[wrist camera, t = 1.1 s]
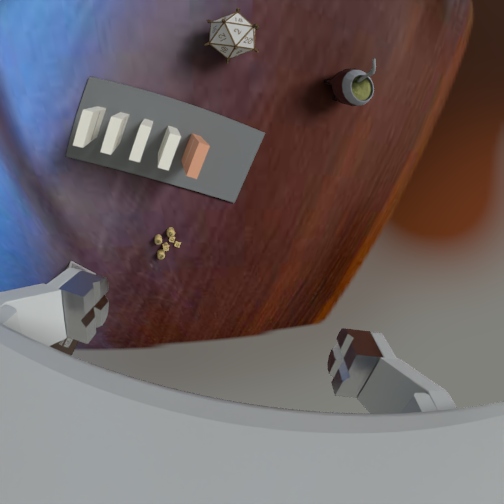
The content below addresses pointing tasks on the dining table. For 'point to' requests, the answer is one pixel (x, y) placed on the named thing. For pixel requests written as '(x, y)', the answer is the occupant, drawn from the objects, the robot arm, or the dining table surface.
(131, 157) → the domino
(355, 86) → the mate gourd
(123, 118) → the domino
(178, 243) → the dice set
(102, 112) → the domino
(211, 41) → the game die
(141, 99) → the mat
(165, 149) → the domino
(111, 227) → the dining table surface
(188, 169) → the domino
